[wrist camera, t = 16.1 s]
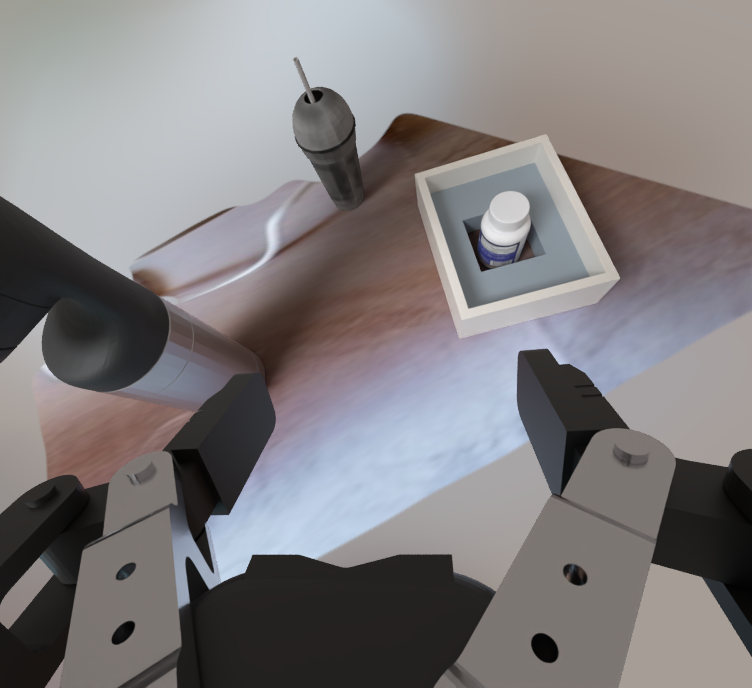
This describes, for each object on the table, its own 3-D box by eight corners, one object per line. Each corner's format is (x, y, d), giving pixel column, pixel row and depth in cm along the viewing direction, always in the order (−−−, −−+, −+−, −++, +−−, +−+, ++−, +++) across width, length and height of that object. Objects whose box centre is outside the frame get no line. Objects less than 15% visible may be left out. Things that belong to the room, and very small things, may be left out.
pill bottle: (492, 227, 47) (503, 177, 39) (528, 247, 45) (548, 199, 37) (468, 257, 46) (473, 212, 38) (503, 278, 44) (517, 236, 36)
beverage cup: (374, 174, 53) (337, 16, 34) (372, 216, 51) (331, 72, 32) (326, 179, 54) (266, 29, 36) (322, 220, 52) (255, 83, 33)
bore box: (459, 338, 43) (461, 320, 37) (417, 206, 50) (414, 174, 44) (596, 303, 42) (620, 278, 36) (534, 172, 48) (546, 134, 43)
